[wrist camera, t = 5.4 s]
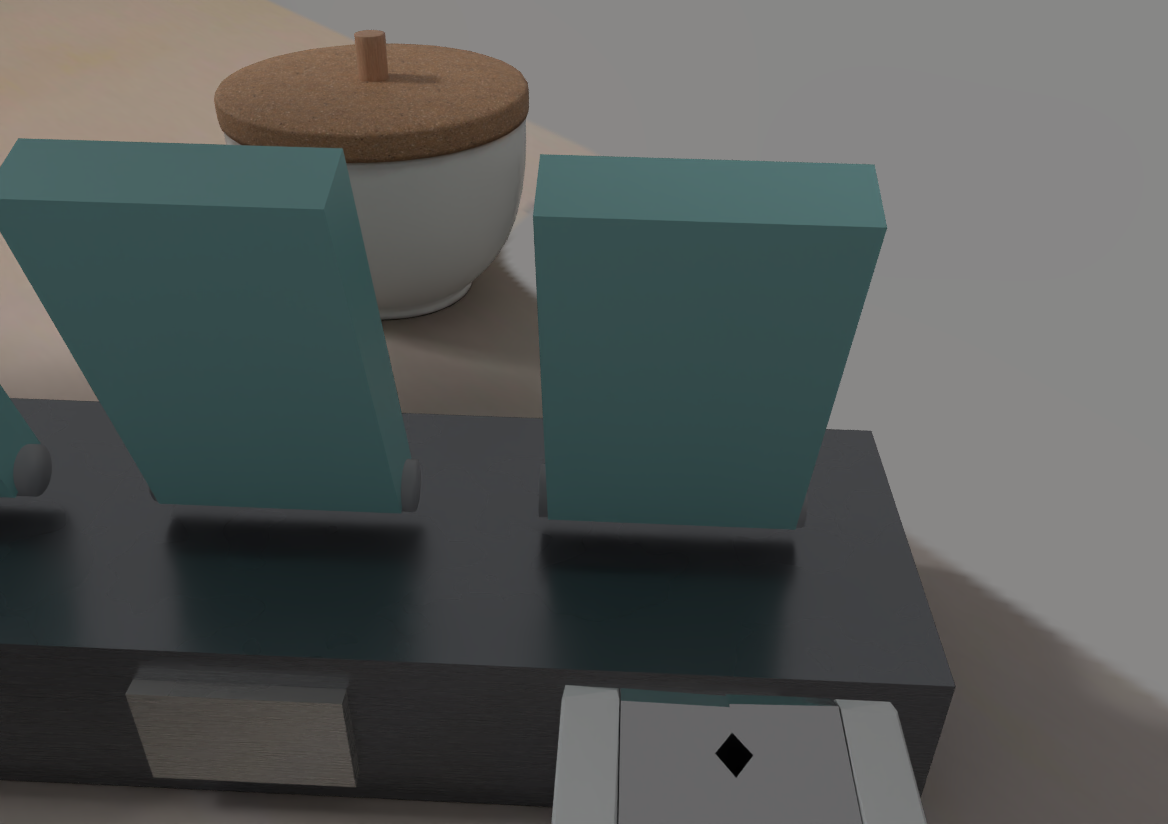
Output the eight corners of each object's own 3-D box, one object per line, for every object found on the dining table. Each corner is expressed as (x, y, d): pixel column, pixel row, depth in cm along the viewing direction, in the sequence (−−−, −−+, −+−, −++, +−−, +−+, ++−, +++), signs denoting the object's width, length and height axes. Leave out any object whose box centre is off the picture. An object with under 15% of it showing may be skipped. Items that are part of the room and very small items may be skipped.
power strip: (-400, 775, 21) (-516, 630, 19) (-141, 513, 28) (-202, 385, 26) (915, 839, 20) (961, 698, 18) (845, 554, 27) (871, 426, 25)
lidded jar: (336, 213, 46) (309, -11, 41) (567, 247, 43) (568, 12, 38) (191, 324, 37) (132, 57, 32) (468, 374, 35) (453, 93, 29)
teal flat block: (539, 533, 21) (518, 215, 15) (544, 477, 22) (526, 153, 16) (800, 544, 21) (901, 228, 15) (795, 488, 22) (888, 164, 15)
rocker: (157, 517, 22) (-33, 198, 15) (177, 462, 22) (5, 138, 16) (414, 527, 21) (337, 210, 15) (424, 473, 22) (356, 148, 16)
